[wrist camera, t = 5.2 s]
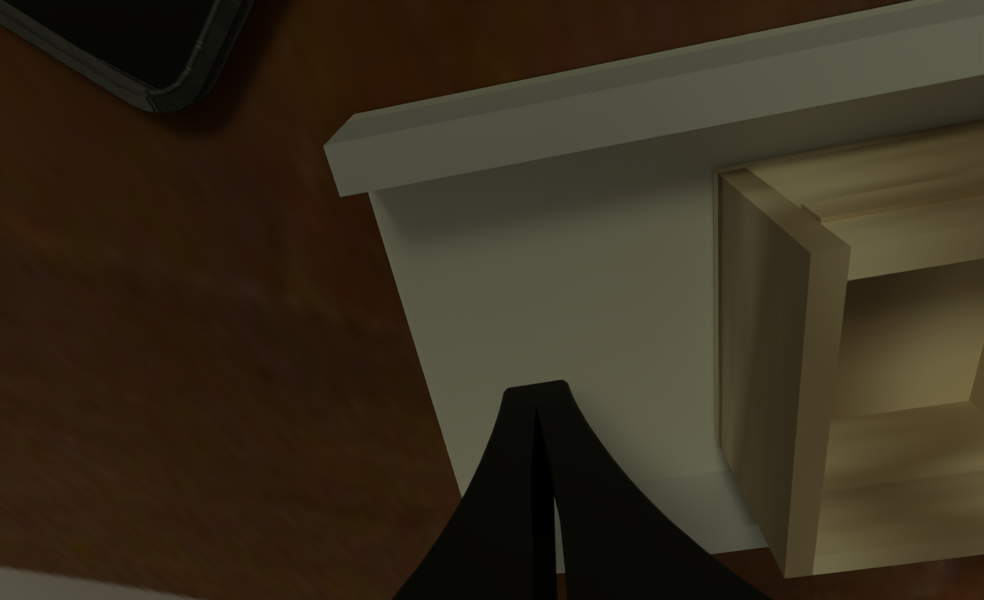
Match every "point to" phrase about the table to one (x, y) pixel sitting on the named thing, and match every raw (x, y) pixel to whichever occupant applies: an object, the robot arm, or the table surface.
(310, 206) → the table surface
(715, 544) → the bay
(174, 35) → the phone
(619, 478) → the robot arm
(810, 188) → the crate
